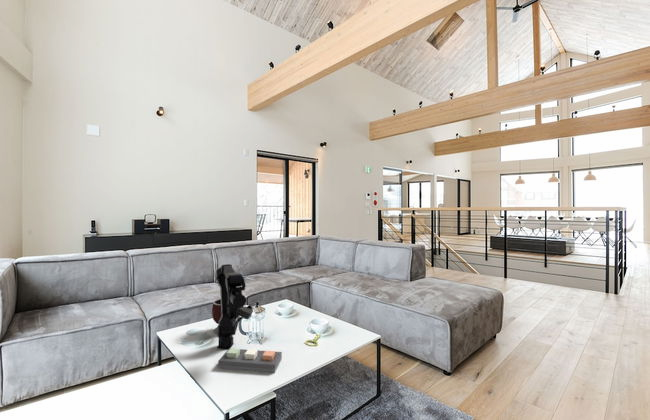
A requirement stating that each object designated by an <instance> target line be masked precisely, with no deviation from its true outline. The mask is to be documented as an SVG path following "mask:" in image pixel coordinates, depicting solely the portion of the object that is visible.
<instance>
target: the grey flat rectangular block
mask: <svg viewBox="0 0 650 420" xmlns="http://www.w3.org/2000/svg"><path fill="white" fill-rule="evenodd" d="M239 349H240V355H239V356H238V357H237V358H227V352H228V351H229V350H230V348H229V349H227V350H226V351H225V353H224V354H223V355H222V356H221V357H220V358H219V359H218V365H217V366H218V367H217V368H218V369H221V370H235V371H248V372H249V371H250V372H259V373H261V372H262V373H274V374H275V373H276V371H277V369H278V367H279V365H280V363H281V362H282V357H283V354H282V353H283V352H282V351H275V358H274V359H273V361H269V360H263V354H264V352H265V351H266V350H259V349H257V350H258V355H257V357H256V358H255V359H244V358H245V353H246V351H247V350H248V349H246V348H245V349H241V348H239Z"/></svg>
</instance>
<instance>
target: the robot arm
mask: <svg viewBox="0 0 650 420" xmlns="http://www.w3.org/2000/svg"><path fill="white" fill-rule="evenodd" d="M214 275H215V276H214V277H215V278H214V279H215V280H216V284H217V286H218V287H219V289H220V290H219V291H220V292H219V293H220V299H221V318H220V320H219V324H217V327H216V328H217V330H216V333H217V334H216V336H217V338H218V346H217V347H216V348H217V350H218V349H220V350H229V348H232V347H233V345H235V344H234V336H235V335H236V333H237V329H238V326H239V323H240V321H241V320H242V319H243V318H244V319H245V320H249V319H250V318H251V317H252V314H253V312H254V307H253V304H252V305H251V304H249V305H247V306H245V305H246V303H247V298H246V297H245V295H244V294H243V291H246V281H245V278H244V276H243V275H242V274H241V273H239V272H236V271H235V269H234V268H233V266H232V264H230V263H226V264H221V266H220V267H219V268H218V269H216V270H215V274H214Z"/></svg>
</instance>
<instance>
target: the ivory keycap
mask: <svg viewBox="0 0 650 420" xmlns="http://www.w3.org/2000/svg"><path fill="white" fill-rule="evenodd" d="M246 350H247V351H246V353H245V358H244V359H255V358H256V357H257V355H258V350H259V349H252V348H251V349H250V348H249V349H246Z"/></svg>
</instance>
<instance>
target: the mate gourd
mask: <svg viewBox="0 0 650 420" xmlns="http://www.w3.org/2000/svg"><path fill="white" fill-rule="evenodd" d="M211 315H212V320H213V321H214V323H215V324H217V325H219V320H220V318H221V298H219V299H215V300H213V302H212V308H211ZM212 330H213V334H215V335H217V333H216V330H217V327H215V328H214V329H212Z"/></svg>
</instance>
